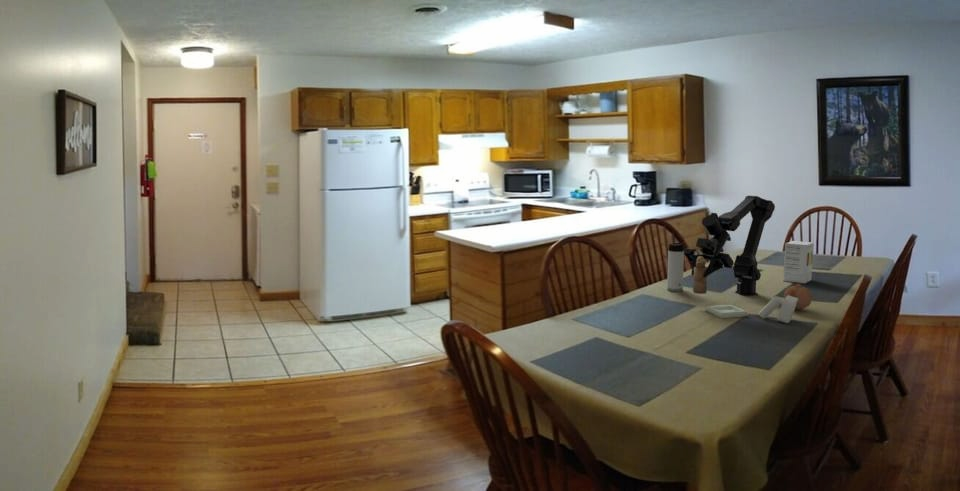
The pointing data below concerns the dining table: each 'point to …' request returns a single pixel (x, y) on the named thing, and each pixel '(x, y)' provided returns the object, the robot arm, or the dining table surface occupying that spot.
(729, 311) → the keeper dish
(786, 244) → the supplement box
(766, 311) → the wall hook
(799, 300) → the onion
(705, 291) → the pepper mill
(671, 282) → the travel mug
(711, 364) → the dining table surface
